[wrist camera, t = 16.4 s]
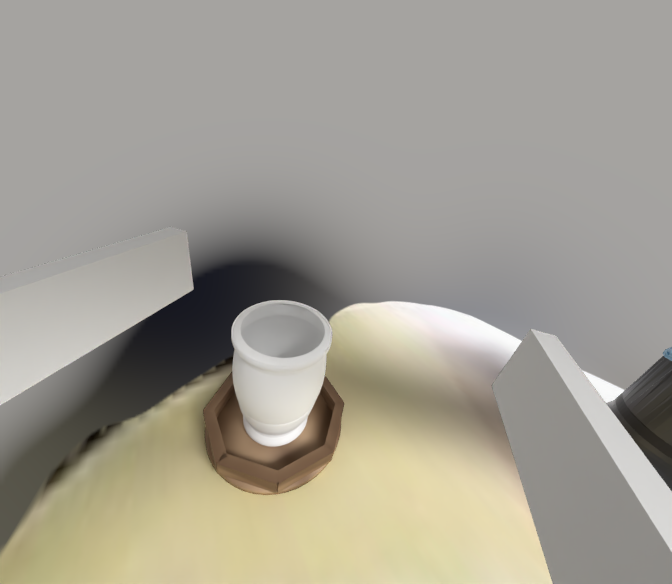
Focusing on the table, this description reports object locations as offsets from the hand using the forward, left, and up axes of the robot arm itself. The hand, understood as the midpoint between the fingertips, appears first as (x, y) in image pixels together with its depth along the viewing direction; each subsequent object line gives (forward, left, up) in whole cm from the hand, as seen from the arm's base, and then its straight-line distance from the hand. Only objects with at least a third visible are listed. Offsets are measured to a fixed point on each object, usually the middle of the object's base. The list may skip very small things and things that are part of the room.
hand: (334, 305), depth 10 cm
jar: (-4, -13, -27) cm, 31 cm away
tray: (-5, -13, -28) cm, 31 cm away
